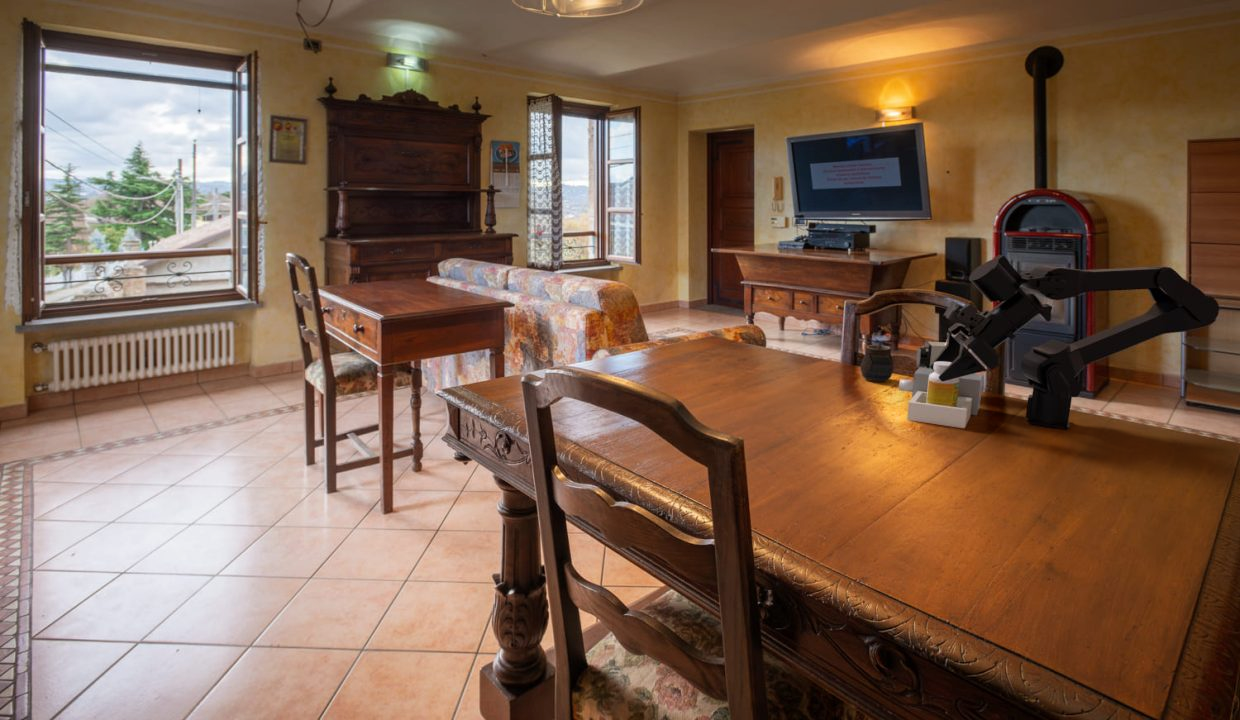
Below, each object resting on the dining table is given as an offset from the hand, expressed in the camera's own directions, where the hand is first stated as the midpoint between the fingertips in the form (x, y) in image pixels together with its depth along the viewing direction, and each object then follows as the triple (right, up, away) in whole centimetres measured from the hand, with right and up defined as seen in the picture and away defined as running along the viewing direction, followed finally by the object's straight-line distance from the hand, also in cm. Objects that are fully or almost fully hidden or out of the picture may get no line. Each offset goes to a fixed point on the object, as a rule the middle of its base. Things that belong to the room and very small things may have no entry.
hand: (935, 374), depth 134 cm
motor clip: (+2, -8, +5) cm, 9 cm away
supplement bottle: (+1, -8, +1) cm, 8 cm away
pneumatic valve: (+11, -5, +20) cm, 23 cm away
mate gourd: (0, -2, +31) cm, 31 cm away
